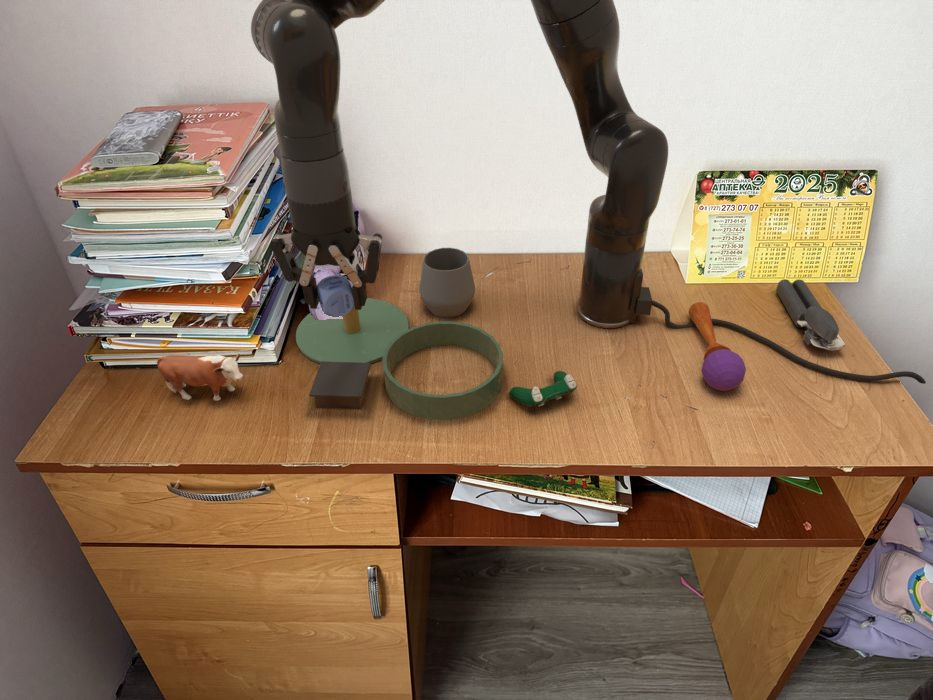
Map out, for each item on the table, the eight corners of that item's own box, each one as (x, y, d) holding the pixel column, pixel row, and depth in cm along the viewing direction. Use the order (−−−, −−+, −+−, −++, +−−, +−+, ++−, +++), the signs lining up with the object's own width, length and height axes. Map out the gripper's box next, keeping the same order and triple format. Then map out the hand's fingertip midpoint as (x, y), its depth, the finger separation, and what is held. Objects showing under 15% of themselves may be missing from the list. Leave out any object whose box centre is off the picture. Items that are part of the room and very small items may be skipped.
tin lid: (415, 304, 118) (413, 274, 114) (401, 372, 103) (397, 340, 99) (312, 302, 119) (306, 272, 115) (283, 368, 104) (275, 337, 100)
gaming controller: (514, 414, 98) (531, 411, 92) (505, 389, 98) (522, 385, 93) (567, 394, 101) (586, 389, 96) (558, 370, 102) (577, 364, 96)
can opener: (844, 359, 104) (858, 326, 100) (811, 359, 104) (824, 326, 100) (801, 291, 119) (811, 260, 115) (771, 291, 119) (781, 260, 115)
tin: (503, 347, 108) (504, 322, 105) (501, 424, 94) (501, 399, 91) (394, 344, 109) (392, 320, 106) (376, 420, 95) (373, 395, 92)
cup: (464, 289, 121) (463, 240, 115) (483, 317, 114) (483, 267, 108) (413, 300, 118) (410, 251, 112) (430, 330, 112) (427, 279, 105)
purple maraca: (722, 298, 110) (757, 369, 94) (709, 328, 114) (740, 402, 97) (687, 291, 110) (716, 361, 94) (675, 322, 114) (700, 394, 97)
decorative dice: (327, 320, 88) (322, 294, 85) (319, 304, 90) (314, 279, 88) (356, 312, 89) (353, 287, 86) (347, 297, 92) (344, 272, 89)
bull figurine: (247, 412, 97) (234, 369, 92) (163, 400, 99) (146, 357, 94) (260, 392, 100) (249, 349, 95) (178, 381, 102) (163, 339, 97)
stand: (375, 379, 102) (372, 361, 100) (365, 416, 96) (362, 397, 94) (323, 377, 102) (319, 359, 100) (310, 414, 96) (306, 396, 94)
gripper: (383, 174, 81) (394, 291, 92) (267, 173, 82) (291, 289, 93) (373, 202, 76) (386, 324, 86) (248, 200, 76) (276, 321, 87)
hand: (337, 305), depth 89 cm, fingers closed on decorative dice, 5 cm apart
